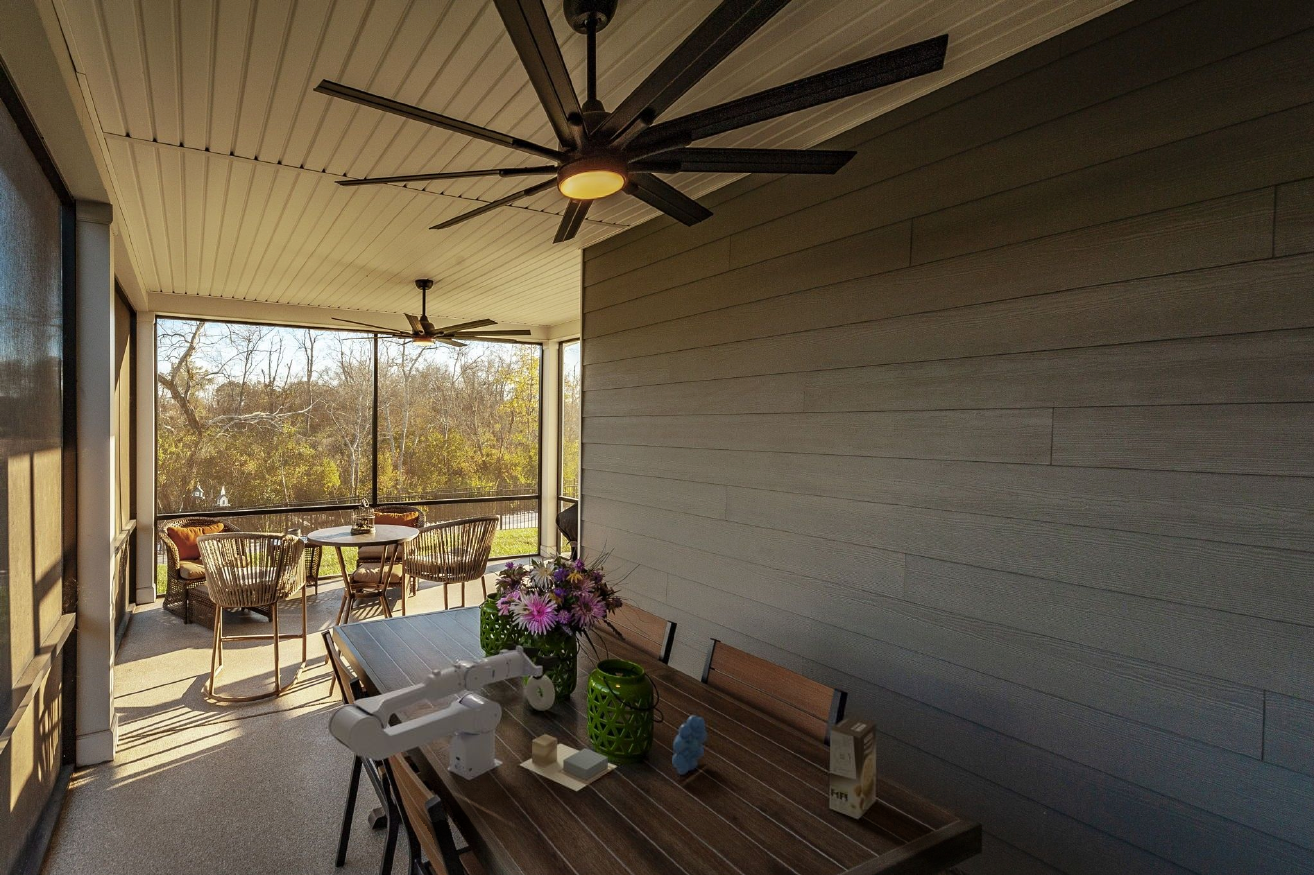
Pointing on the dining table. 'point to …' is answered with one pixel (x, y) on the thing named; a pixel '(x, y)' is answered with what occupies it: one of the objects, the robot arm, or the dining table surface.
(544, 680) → the donut
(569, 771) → the slate slab
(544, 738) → the maple block
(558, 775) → the white flat sheet
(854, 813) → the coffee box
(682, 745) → the blue lumpy rounded block
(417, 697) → the robot arm
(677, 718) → the dining table surface
